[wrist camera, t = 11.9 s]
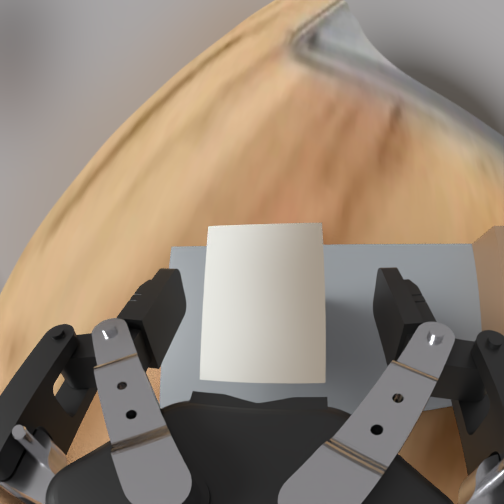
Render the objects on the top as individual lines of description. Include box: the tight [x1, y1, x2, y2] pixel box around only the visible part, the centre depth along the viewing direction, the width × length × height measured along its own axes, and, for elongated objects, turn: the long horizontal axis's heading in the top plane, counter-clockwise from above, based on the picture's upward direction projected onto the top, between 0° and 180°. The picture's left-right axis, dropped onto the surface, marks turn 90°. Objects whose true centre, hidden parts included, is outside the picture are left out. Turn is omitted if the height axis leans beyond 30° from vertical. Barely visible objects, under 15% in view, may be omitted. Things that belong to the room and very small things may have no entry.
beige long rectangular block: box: [200, 223, 326, 383], centre depth 12 cm, size 3×4×10 cm
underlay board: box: [160, 226, 504, 415], centre depth 15 cm, size 22×10×4 cm, turn 87°
